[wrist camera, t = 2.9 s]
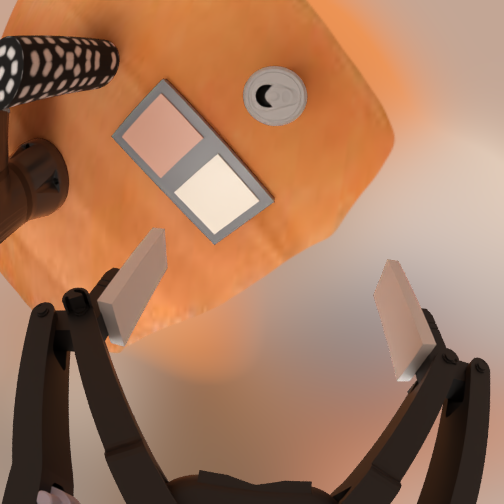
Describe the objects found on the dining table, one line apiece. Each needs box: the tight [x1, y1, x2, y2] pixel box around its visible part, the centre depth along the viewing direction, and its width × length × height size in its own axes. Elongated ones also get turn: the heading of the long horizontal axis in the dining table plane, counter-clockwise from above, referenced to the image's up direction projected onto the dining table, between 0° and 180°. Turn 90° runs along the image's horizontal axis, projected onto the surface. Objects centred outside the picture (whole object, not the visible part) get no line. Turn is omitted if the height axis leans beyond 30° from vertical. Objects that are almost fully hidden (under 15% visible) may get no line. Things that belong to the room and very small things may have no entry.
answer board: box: [111, 79, 274, 245], centre depth 41 cm, size 24×12×2 cm, turn 40°
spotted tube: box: [0, 36, 119, 110], centre depth 25 cm, size 8×8×20 cm
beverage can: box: [243, 66, 307, 126], centre depth 30 cm, size 6×6×12 cm
